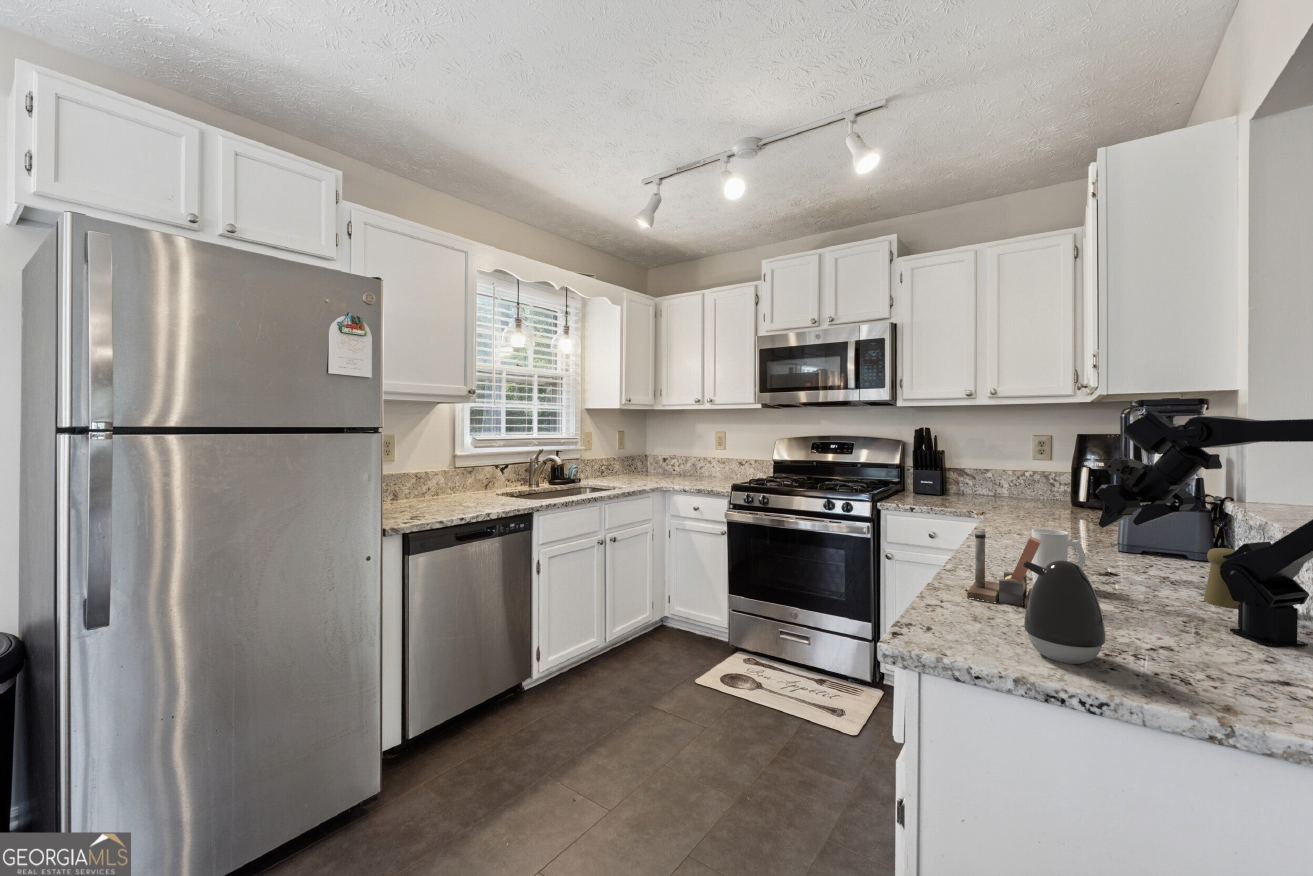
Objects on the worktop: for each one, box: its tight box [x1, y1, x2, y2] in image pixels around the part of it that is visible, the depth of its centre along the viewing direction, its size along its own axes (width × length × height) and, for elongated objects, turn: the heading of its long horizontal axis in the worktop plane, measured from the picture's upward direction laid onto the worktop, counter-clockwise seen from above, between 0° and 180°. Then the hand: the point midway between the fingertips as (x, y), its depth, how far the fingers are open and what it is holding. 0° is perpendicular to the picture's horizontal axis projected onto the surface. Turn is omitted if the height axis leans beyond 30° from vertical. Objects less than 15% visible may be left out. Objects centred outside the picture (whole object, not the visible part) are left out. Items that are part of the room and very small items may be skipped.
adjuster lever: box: [1005, 535, 1041, 593], centre depth 114 cm, size 4×4×13 cm
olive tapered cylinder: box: [1203, 547, 1240, 610], centre depth 110 cm, size 6×6×11 cm
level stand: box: [967, 529, 1033, 609], centre depth 115 cm, size 15×11×14 cm
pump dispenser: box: [1023, 560, 1106, 665], centre depth 86 cm, size 10×10×15 cm
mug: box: [1031, 528, 1086, 584], centre depth 123 cm, size 10×7×12 cm, turn 33°
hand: (1117, 525), depth 115 cm, fingers open, 9 cm apart
